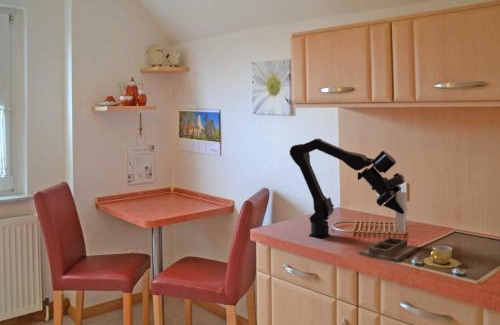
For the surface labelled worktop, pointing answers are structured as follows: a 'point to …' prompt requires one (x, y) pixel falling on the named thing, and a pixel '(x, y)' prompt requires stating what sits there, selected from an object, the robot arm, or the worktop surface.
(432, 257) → the cup
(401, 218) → the clay block
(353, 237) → the worktop surface
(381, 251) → the rack
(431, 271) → the worktop surface
